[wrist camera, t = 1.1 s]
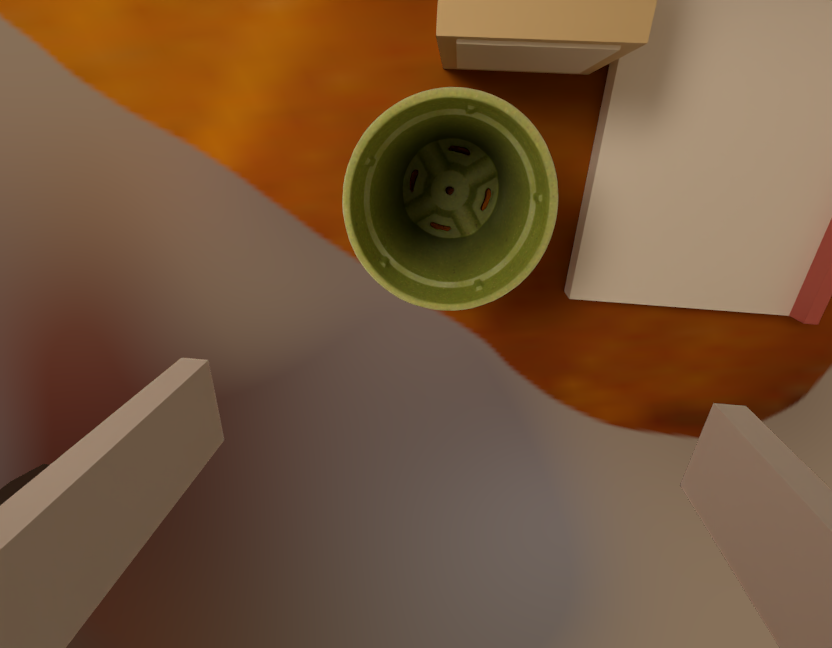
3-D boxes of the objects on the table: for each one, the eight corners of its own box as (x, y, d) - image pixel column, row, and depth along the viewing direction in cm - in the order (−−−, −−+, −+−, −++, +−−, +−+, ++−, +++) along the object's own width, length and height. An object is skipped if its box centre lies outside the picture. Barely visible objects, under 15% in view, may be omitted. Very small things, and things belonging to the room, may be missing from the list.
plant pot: (549, 124, 24) (593, 115, 16) (503, 277, 28) (520, 330, 20) (391, 89, 24) (358, 63, 16) (366, 246, 28) (330, 287, 20)
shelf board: (661, -195, 19) (691, -247, 16) (1001, -196, 18) (1088, -250, 15) (564, 291, 28) (574, 305, 26) (785, 308, 27) (817, 324, 25)
